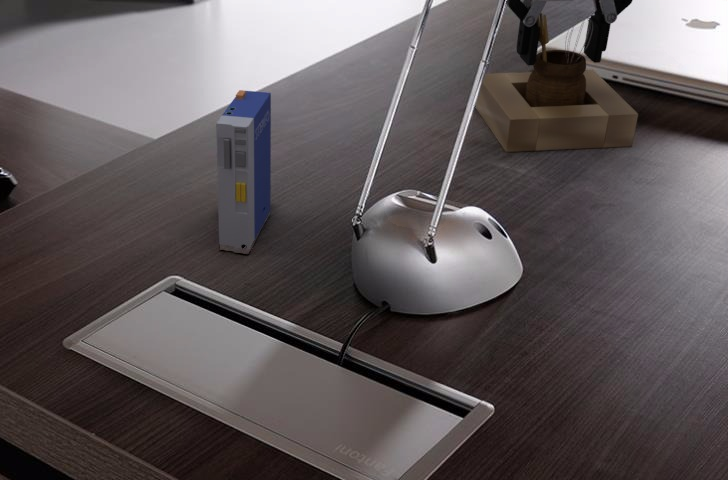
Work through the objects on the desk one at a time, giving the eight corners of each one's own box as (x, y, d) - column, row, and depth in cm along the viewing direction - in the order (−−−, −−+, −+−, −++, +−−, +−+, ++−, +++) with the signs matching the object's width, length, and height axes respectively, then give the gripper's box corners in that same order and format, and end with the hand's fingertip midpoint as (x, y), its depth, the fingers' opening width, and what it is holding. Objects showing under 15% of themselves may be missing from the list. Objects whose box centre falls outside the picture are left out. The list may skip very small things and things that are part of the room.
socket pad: (587, 99, 121) (592, 69, 119) (632, 146, 110) (638, 113, 108) (472, 104, 120) (476, 74, 118) (505, 152, 109) (510, 119, 107)
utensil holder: (592, 127, 113) (611, 12, 107) (541, 137, 112) (558, 21, 105) (557, 108, 118) (574, -3, 112) (508, 117, 116) (523, 5, 110)
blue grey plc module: (241, 211, 99) (239, 86, 93) (270, 215, 99) (271, 88, 92) (217, 252, 93) (213, 120, 86) (248, 256, 92) (247, 123, 86)
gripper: (508, -117, 98) (486, 76, 108) (695, -123, 99) (656, 68, 108) (486, -133, 104) (467, 51, 114) (662, -139, 105) (628, 44, 115)
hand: (559, 58), depth 111 cm, fingers closed on utensil holder, 6 cm apart
